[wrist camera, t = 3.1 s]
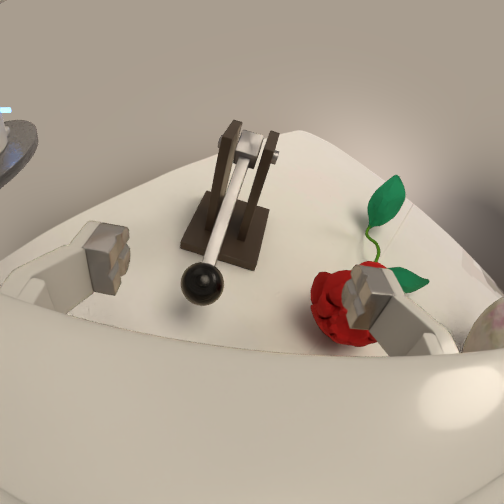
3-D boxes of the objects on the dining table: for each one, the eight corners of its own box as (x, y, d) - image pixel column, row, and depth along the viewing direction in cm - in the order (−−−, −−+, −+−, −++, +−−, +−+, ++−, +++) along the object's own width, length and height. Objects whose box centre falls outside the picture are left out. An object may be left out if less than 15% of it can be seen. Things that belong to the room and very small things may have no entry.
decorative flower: (426, 252, 45) (458, 215, 38) (378, 395, 27) (441, 364, 19) (366, 206, 48) (392, 164, 41) (280, 323, 30) (318, 270, 23)
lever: (216, 312, 25) (217, 309, 22) (177, 300, 25) (172, 295, 21) (265, 153, 30) (272, 133, 27) (233, 144, 30) (236, 123, 26)
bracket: (254, 271, 34) (293, 174, 23) (180, 248, 33) (190, 144, 23) (267, 215, 40) (299, 129, 30) (205, 196, 40) (222, 106, 30)
